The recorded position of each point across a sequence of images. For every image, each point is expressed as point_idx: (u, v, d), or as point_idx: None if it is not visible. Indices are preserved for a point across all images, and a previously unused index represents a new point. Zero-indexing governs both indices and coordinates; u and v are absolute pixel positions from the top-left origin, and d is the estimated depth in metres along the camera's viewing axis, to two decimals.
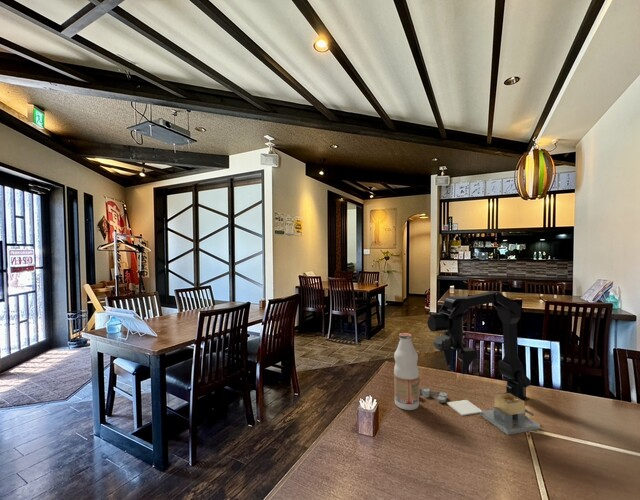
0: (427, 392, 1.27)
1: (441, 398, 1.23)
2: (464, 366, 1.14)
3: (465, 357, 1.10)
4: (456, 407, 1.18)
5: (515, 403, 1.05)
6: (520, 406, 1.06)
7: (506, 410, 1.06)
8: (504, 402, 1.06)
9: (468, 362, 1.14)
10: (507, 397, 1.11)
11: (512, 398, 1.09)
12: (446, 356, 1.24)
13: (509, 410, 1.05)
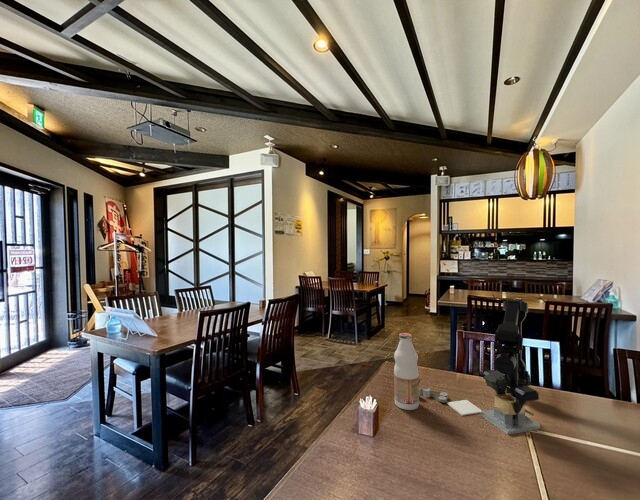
0: (428, 392, 1.27)
1: (442, 398, 1.23)
2: (518, 405, 1.04)
3: (525, 399, 0.99)
4: (456, 407, 1.18)
5: None
6: None
7: (506, 410, 1.06)
8: (504, 402, 1.06)
9: (523, 401, 1.04)
10: (507, 397, 1.11)
11: (512, 398, 1.09)
12: None
13: (509, 410, 1.05)
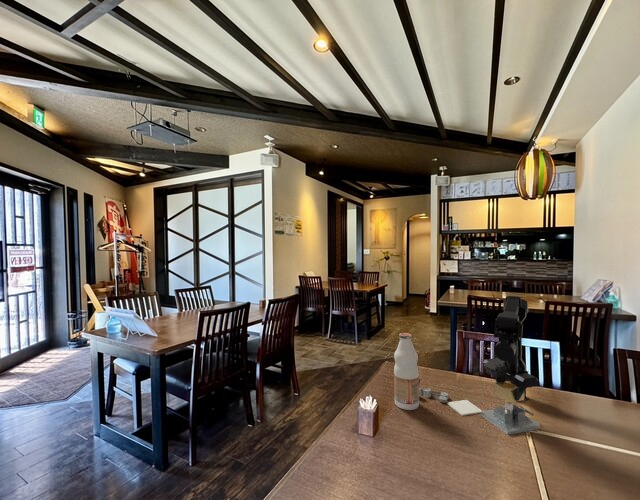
0: (428, 392, 1.27)
1: (442, 398, 1.23)
2: (518, 392, 1.04)
3: (525, 385, 0.99)
4: (456, 407, 1.18)
5: None
6: None
7: (505, 397, 1.06)
8: (504, 389, 1.06)
9: (523, 388, 1.04)
10: (507, 385, 1.10)
11: (512, 386, 1.09)
12: None
13: (509, 397, 1.05)
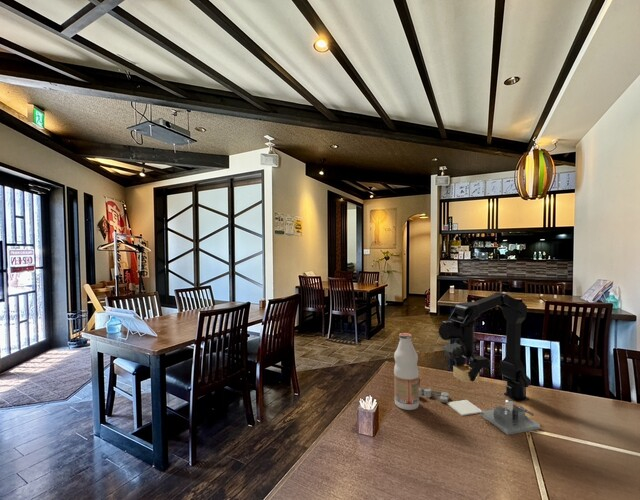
0: (429, 392, 1.27)
1: (443, 398, 1.23)
2: (473, 373, 1.13)
3: (477, 366, 1.08)
4: (456, 407, 1.18)
5: None
6: None
7: (462, 378, 1.15)
8: (461, 371, 1.15)
9: (477, 369, 1.13)
10: (465, 367, 1.20)
11: (469, 368, 1.18)
12: None
13: (465, 378, 1.14)
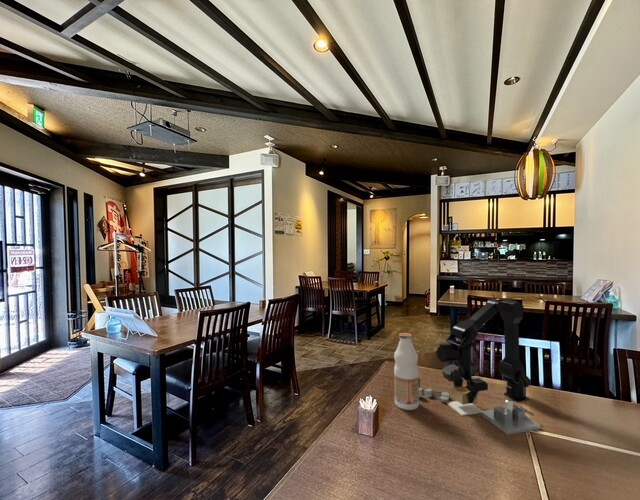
0: (429, 392, 1.27)
1: (444, 398, 1.23)
2: (471, 395, 1.14)
3: (475, 389, 1.09)
4: (456, 407, 1.18)
5: None
6: None
7: (460, 400, 1.16)
8: (459, 393, 1.16)
9: (475, 391, 1.14)
10: (463, 388, 1.20)
11: None
12: None
13: (463, 400, 1.15)
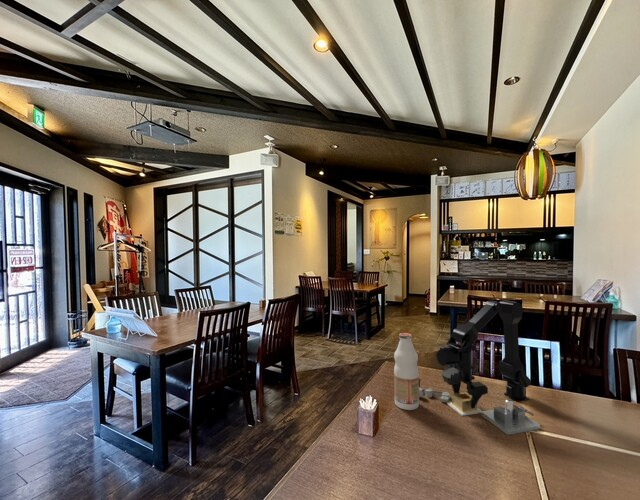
0: (430, 392, 1.27)
1: (444, 398, 1.23)
2: (473, 401, 1.13)
3: (475, 393, 1.09)
4: (456, 407, 1.18)
5: (468, 401, 1.15)
6: None
7: (460, 407, 1.16)
8: (459, 400, 1.16)
9: (477, 397, 1.13)
10: (463, 395, 1.20)
11: (467, 396, 1.19)
12: (454, 388, 1.23)
13: (463, 407, 1.15)
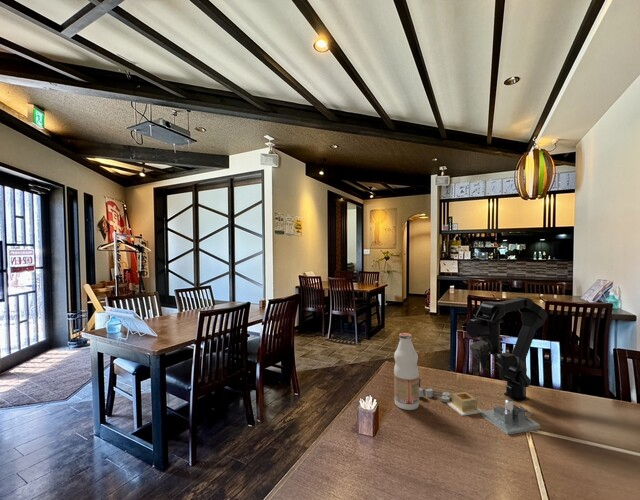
0: (430, 392, 1.27)
1: (445, 398, 1.23)
2: (502, 371, 1.15)
3: (505, 362, 1.11)
4: (456, 407, 1.18)
5: (468, 401, 1.15)
6: (473, 404, 1.16)
7: (460, 407, 1.16)
8: (459, 400, 1.16)
9: (506, 367, 1.15)
10: (463, 395, 1.20)
11: (467, 396, 1.19)
12: (482, 361, 1.25)
13: (463, 407, 1.15)
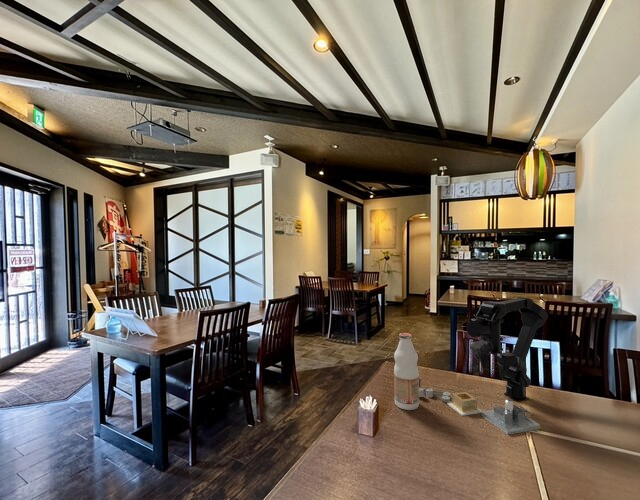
0: (431, 392, 1.27)
1: (445, 398, 1.23)
2: (502, 371, 1.15)
3: (505, 362, 1.11)
4: (456, 407, 1.18)
5: (468, 401, 1.15)
6: (473, 404, 1.16)
7: (460, 407, 1.16)
8: (459, 400, 1.16)
9: (507, 367, 1.15)
10: (463, 395, 1.20)
11: (467, 396, 1.19)
12: (482, 360, 1.25)
13: (463, 407, 1.15)
